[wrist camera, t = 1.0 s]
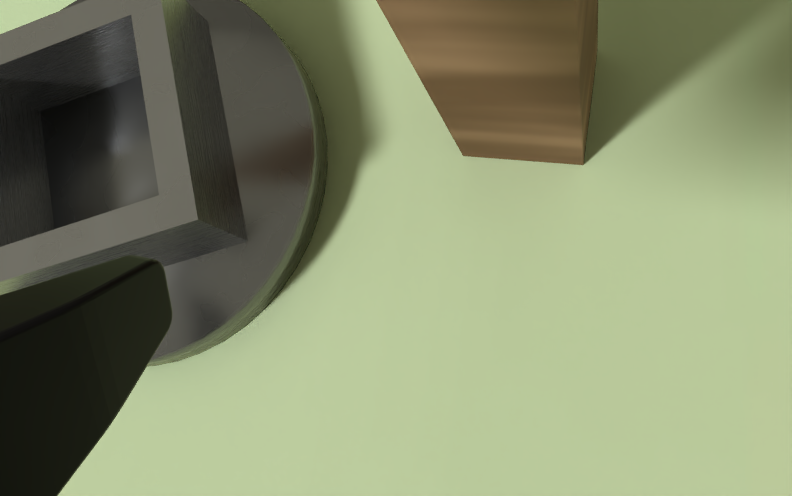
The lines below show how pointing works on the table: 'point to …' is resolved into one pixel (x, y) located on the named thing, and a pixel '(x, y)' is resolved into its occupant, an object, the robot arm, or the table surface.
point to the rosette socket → (160, 155)
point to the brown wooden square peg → (505, 72)
